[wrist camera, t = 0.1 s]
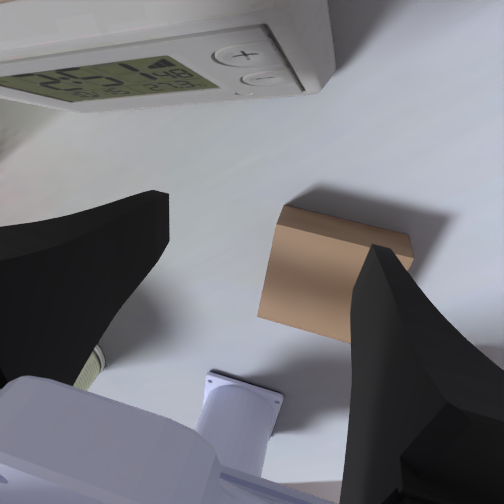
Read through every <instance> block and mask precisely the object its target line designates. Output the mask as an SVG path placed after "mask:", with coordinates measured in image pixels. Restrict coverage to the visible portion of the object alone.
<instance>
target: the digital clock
mask: <svg viewBox="0 0 504 504" xmlns="http://www.w3.org/2000/svg"><path fill="white" fill-rule="evenodd" d="M335 70H336V58H335V50H334V42H333V35H332V28H331V20H330V13H329V5H328V0H0V98H3V99H8V100H13V101H18V102H23V103H28V104H33V105H38V106H43V107H48V108H53V109H58V110H63V111H68V112H75V113H99V112H112V111H124V110H136V109H148V108H160V107H172V106H184V105H196V104H207V103H219V102H231V101H243V100H255V99H267V98H278V97H289V96H300V95H309V94H315V93H318V92H320V91H321V90H322V88H323V87H324V86H325V85H326V83H327V82H328V81H329V79H330V78H331V76H332V75H333V74H334V72H335Z"/></svg>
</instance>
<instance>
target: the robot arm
mask: <svg viewBox="0 0 504 504" xmlns="http://www.w3.org/2000/svg"><path fill="white" fill-rule="evenodd" d="M168 243H169V194H168V193H164V192H159V191H155V190H150V191H146V192H142V193H139V194H136V195H133V196H130V197H127V198H124V199H121V200H118V201H115V202H112V203H108V204H105V205H102V206H99V207H95V208H92V209H89V210H85V211H82V212H78V213H75V214H71V215H67V216H63V217H58V218H53V219H48V220H43V221H38V222H32V223H25V224H17V225H10V226H3V227H0V504H336V503H334V502H331V501H328V500H325V499H322V498H319V497H316V496H313V495H310V494H307V493H304V492H301V491H298V490H296V489H293V488H290V487H286V486H284V485H281V484H278V483H275V482H272V481H269V480H266V479H263V478H261V473H262V468H263V463H264V459H265V454H266V449H267V444H268V441H269V439H270V436H271V433H272V431H273V428H274V425H275V422H276V419H277V416H278V413H279V411H280V408H281V405H282V402H283V398H284V397H283V395H282V394H280V393H277V392H273V391H270V390H267V389H264V388H261V387H257V386H254V385H251V384H248V383H244V382H241V381H238V380H235V379H231V378H228V377H225V376H222V375H219V374H215V373H212V372H208V373H207V375H206V380H205V391H204V402H203V409H202V412H201V414H200V417H199V419H198V422H197V424H196V427H195V429H194V430H193V429H191V428H188V427H186V426H184V425H182V424H180V423H178V422H176V421H174V420H172V419H169V418H166V417H163V416H160V415H157V414H154V413H151V412H148V411H145V410H142V409H139V408H136V407H133V406H130V405H127V404H124V403H121V402H118V401H115V400H112V399H109V398H106V397H103V396H100V395H97V394H94V393H91V392H88V391H85V390H82V389H79V388H76V387H73V385H74V383H75V382H76V380H77V378H78V376H79V374H80V373H81V371H82V369H83V367H84V365H85V364H86V362H87V360H88V358H89V357H90V355H91V353H92V352H93V350H94V348H95V347H96V345H97V343H98V342H99V340H100V338H101V337H102V335H103V333H104V332H105V330H106V329H107V327H108V326H109V324H110V322H111V321H112V319H113V318H114V316H115V315H116V313H117V312H118V311H119V309H120V308H121V306H122V305H123V304H124V303H125V301H126V300H127V299H128V298H129V296H130V295H131V294H132V293H133V292H134V290H135V289H136V288H137V287H138V285H139V284H140V283H141V282H142V280H143V279H144V278H145V277H146V276H147V274H148V273H149V272H150V271H151V269H152V268H153V267H154V266H155V264H156V263H157V262H158V260H159V258H160V257H161V255H162V253H163V252H164V250H165V248H166V246H167V245H168ZM350 331H351V359H352V388H351V401H350V414H349V425H348V435H347V445H346V454H345V463H344V472H343V480H342V488H341V496H340V504H504V371H503V370H502V369H501V368H500V367H498V366H497V365H496V364H495V363H493V362H492V361H491V360H490V359H489V358H488V357H486V356H485V355H484V354H483V353H482V352H480V351H479V350H478V349H477V348H476V347H475V346H473V345H472V344H471V343H470V342H469V341H468V340H467V339H466V338H465V337H464V336H463V335H462V334H461V333H460V332H459V331H458V330H457V329H456V328H455V327H454V326H453V325H452V324H451V323H450V322H449V321H448V320H447V319H446V318H445V317H444V316H443V315H442V314H441V313H440V312H439V311H438V310H437V308H436V307H435V306H434V305H433V304H432V303H431V301H430V300H429V299H428V298H427V297H426V295H425V294H424V293H423V292H422V290H421V289H420V288H419V286H418V285H417V284H416V283H415V281H414V280H413V279H412V277H411V276H410V274H409V273H408V272H407V270H406V269H405V267H404V266H403V265H402V263H401V262H400V260H399V259H398V257H397V256H396V255H395V253H394V252H393V251H392V249H391V248H387V247H383V246H379V245H375V244H372V245H371V247H370V249H369V252H368V254H367V256H366V259H365V261H364V264H363V266H362V268H361V271H360V273H359V276H358V278H357V280H356V283H355V285H354V287H353V291H352V300H351V309H350Z"/></svg>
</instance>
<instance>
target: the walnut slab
mask: <svg viewBox="0 0 504 504" xmlns="http://www.w3.org/2000/svg"><path fill="white" fill-rule="evenodd" d="M372 244H375V245H379V246H383V247H387V248H391V249H392V251H393V252H394V253H395V255H396V256H397V257H398V259H399V260H400V262H401V263H402V265H403V266H404V267H405V269H406V270H407V271H408V269H409V268H410V266H411V264H412V262H413V260H414V256H413V251H412V247H411V243H410V238H409V235H407V234H403V233H398V232H394V231H390V230H386V229H382V228H378V227H374V226H369V225H365V224H361V223H357V222H353V221H349V220H345V219H340V218H336V217H332V216H328V215H324V214H320V213H316V212H311V211H307V210H303V209H299V208H295V207H291V206H287V205H284V206H283V209H282V211H281V214H280V216H279V219H278V222H277V224H276V229H275V234H274V238H273V243H272V248H271V253H270V258H269V262H268V267H267V272H266V277H265V281H264V286H263V291H262V296H261V300H260V305H259V310H258V315H257V317H260V318H263V319H267V320H270V321H274V322H277V323H281V324H284V325H288V326H291V327H295V328H298V329H302V330H305V331H309V332H312V333H316V334H319V335H322V336H326V337H329V338H333V339H336V340H340V341H343V342H347V343H350V344H351V331H350V309H351V300H352V291H353V287H354V285H355V283H356V280H357V278H358V276H359V273H360V271H361V268H362V266H363V264H364V261H365V259H366V256H367V254H368V252H369V249H370V247H371V245H372Z"/></svg>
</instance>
